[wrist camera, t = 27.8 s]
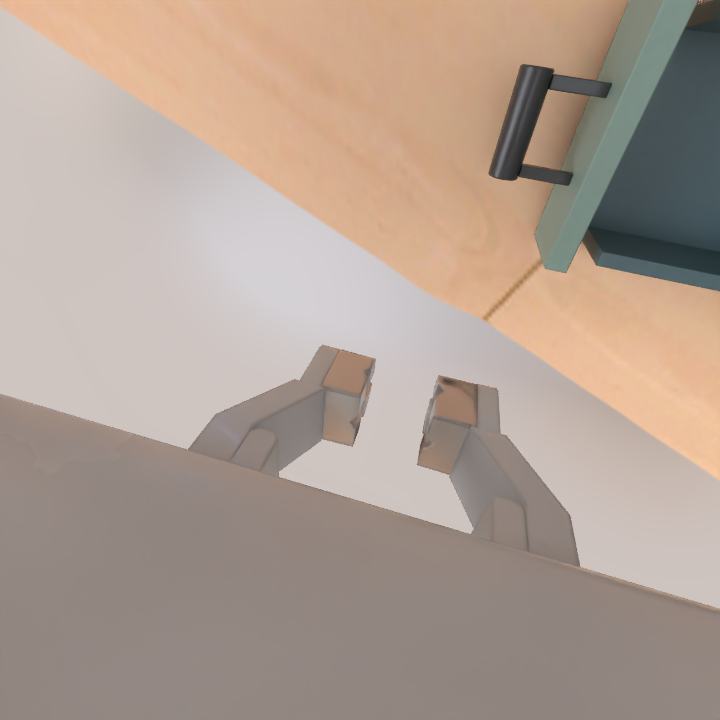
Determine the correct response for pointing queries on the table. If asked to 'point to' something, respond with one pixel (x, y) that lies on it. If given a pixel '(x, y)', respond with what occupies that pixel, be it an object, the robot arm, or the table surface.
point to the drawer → (633, 149)
